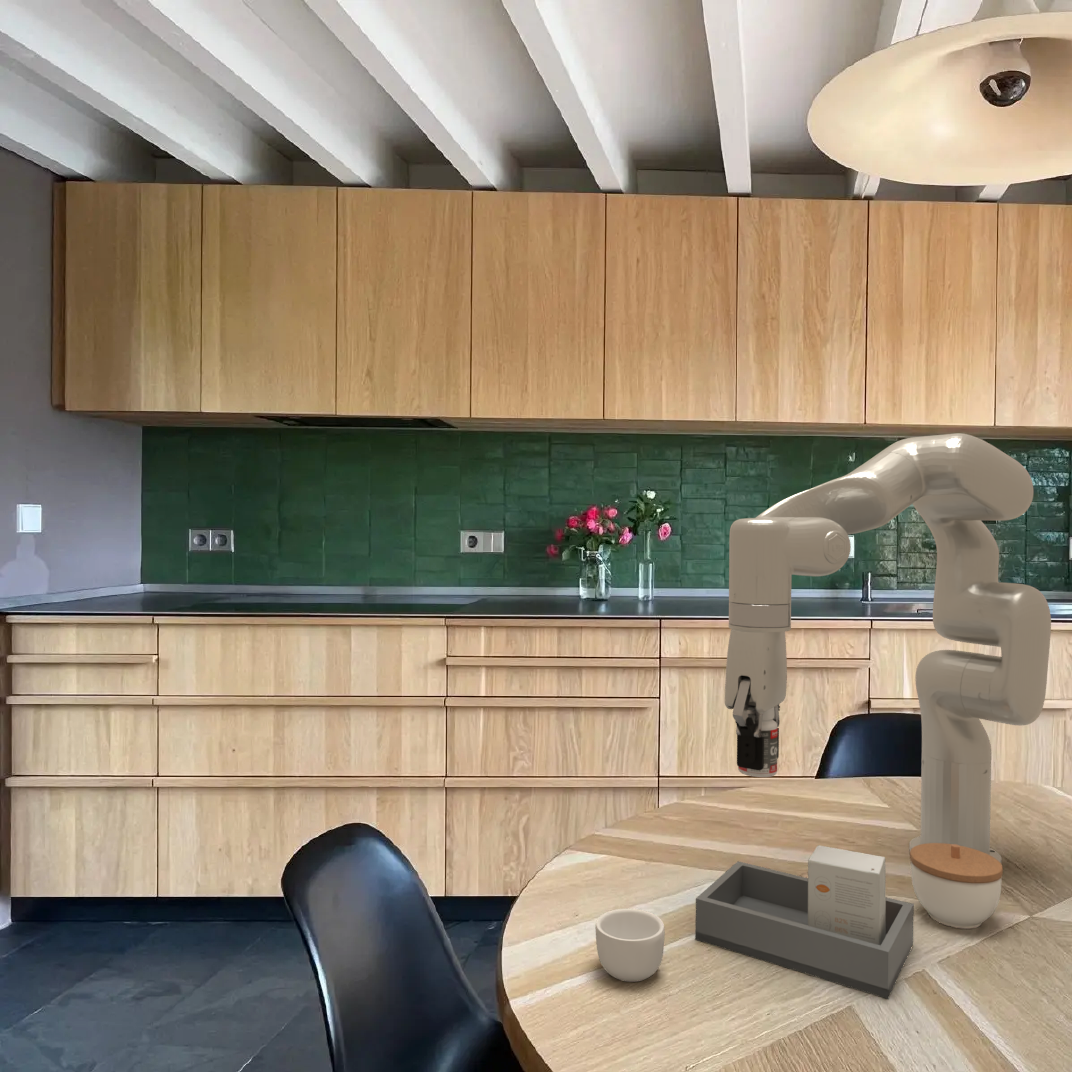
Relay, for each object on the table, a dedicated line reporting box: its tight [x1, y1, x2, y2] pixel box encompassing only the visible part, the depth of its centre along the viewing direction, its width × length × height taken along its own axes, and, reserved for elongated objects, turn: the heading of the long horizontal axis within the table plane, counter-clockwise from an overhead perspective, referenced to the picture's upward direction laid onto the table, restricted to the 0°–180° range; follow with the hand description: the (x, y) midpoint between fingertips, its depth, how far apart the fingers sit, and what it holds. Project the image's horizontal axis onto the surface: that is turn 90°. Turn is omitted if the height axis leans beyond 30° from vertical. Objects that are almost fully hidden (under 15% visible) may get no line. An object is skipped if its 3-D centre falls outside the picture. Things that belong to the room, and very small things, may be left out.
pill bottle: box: [737, 705, 779, 778], centre depth 104 cm, size 5×5×8 cm
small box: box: [807, 845, 887, 946], centre depth 98 cm, size 8×6×10 cm
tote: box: [694, 860, 915, 1000], centre depth 101 cm, size 14×22×5 cm, turn 56°
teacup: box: [595, 908, 666, 983], centre depth 94 cm, size 10×8×5 cm
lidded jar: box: [909, 843, 1004, 930], centre depth 107 cm, size 11×11×9 cm
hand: (758, 761), depth 104 cm, fingers closed on pill bottle, 4 cm apart
